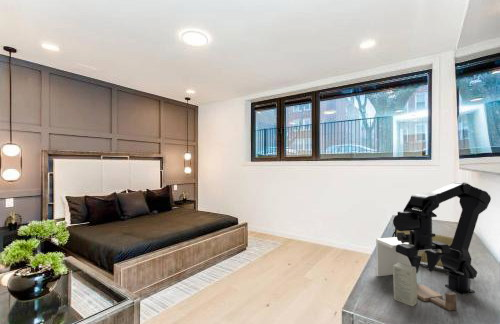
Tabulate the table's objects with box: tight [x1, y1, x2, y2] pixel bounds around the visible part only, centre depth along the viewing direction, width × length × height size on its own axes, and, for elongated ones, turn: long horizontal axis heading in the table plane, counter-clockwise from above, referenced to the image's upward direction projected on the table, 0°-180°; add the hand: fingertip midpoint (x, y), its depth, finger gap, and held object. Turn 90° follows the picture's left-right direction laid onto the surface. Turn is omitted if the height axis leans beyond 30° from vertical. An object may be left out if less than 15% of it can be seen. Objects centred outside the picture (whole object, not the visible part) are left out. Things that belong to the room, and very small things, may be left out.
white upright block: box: [375, 236, 414, 277], centre depth 102 cm, size 11×9×16 cm
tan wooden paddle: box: [417, 284, 457, 312], centre depth 87 cm, size 8×15×5 cm, turn 13°
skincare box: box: [392, 262, 419, 307], centre depth 86 cm, size 6×4×12 cm
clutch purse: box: [391, 227, 454, 273], centre depth 116 cm, size 30×7×15 cm, turn 40°
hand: (422, 271), depth 90 cm, fingers open, 6 cm apart
